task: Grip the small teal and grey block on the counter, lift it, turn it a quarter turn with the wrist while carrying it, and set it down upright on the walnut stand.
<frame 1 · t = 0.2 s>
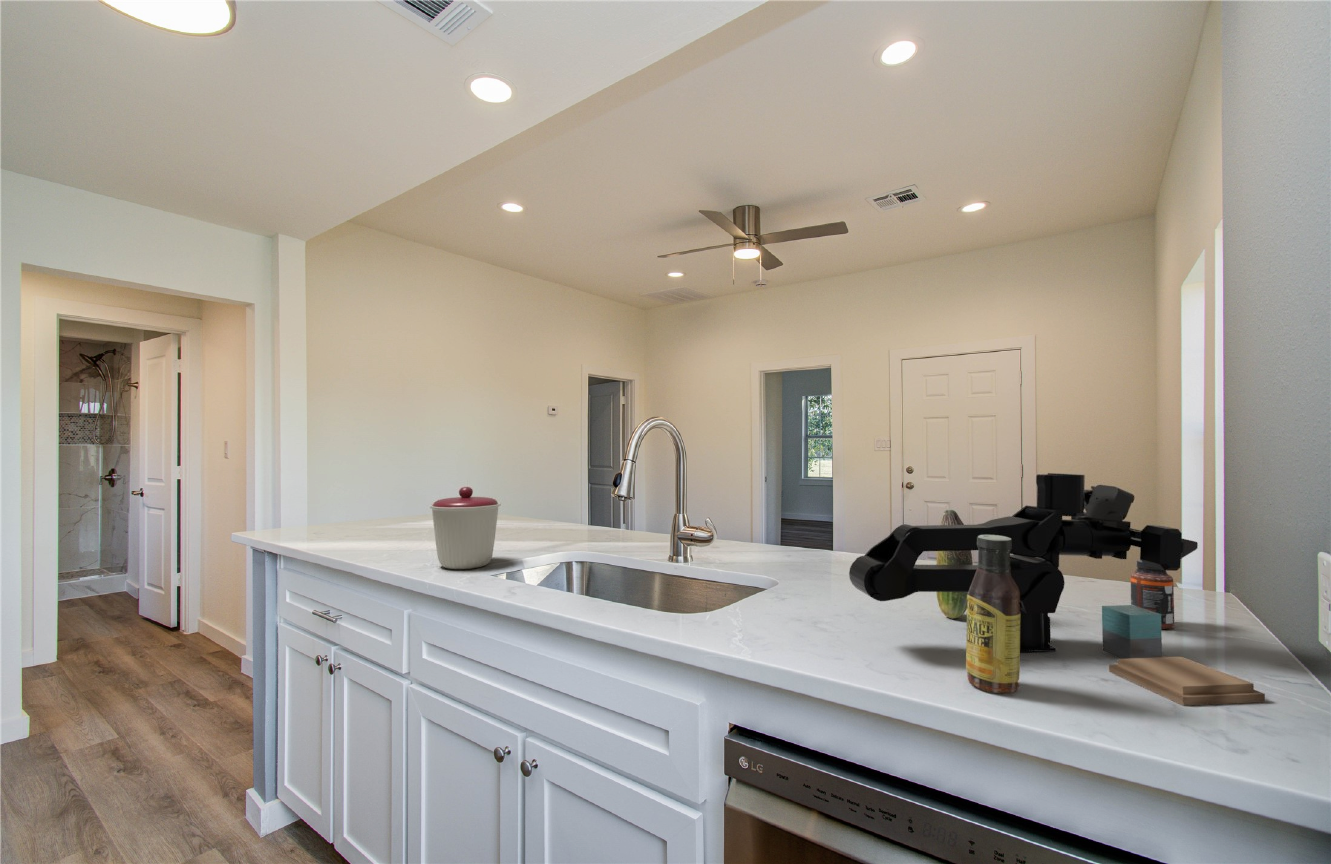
hand: (1169, 539, 98), 16 cm above the worktop, tool horizontal, fingers open, 9 cm apart
canister: (465, 566, 160), on the worktop
teal and grey block: (1131, 656, 90), on the worktop
sauce bottle: (993, 688, 79), on the worktop
vegetable: (954, 618, 111), on the worktop
walnut stand: (1182, 685, 79), on the worktop
supplement bottle: (1152, 626, 106), on the worktop
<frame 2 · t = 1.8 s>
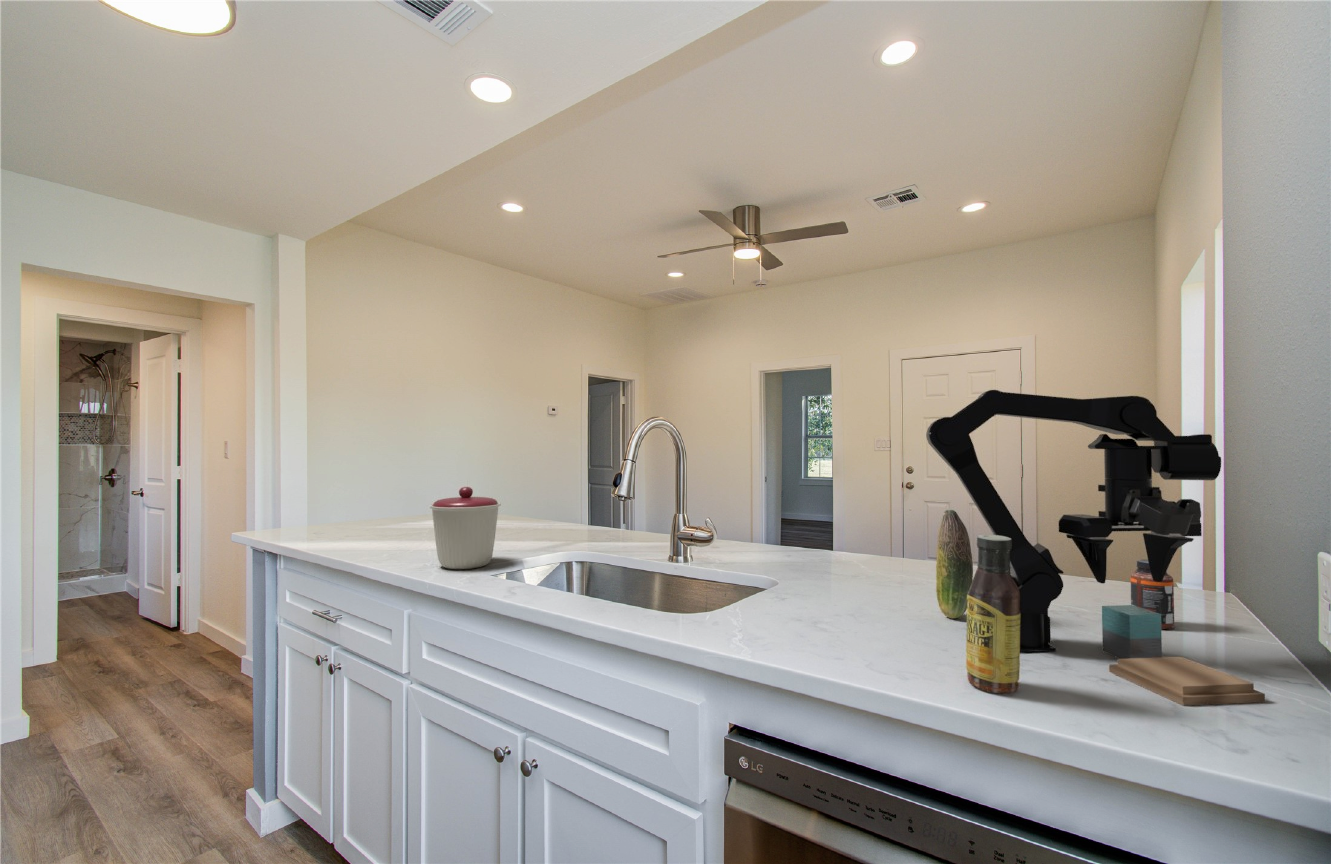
hand: (1129, 582, 91), 11 cm above the worktop, tool pointing down, fingers open, 9 cm apart
nothing on the worktop moved.
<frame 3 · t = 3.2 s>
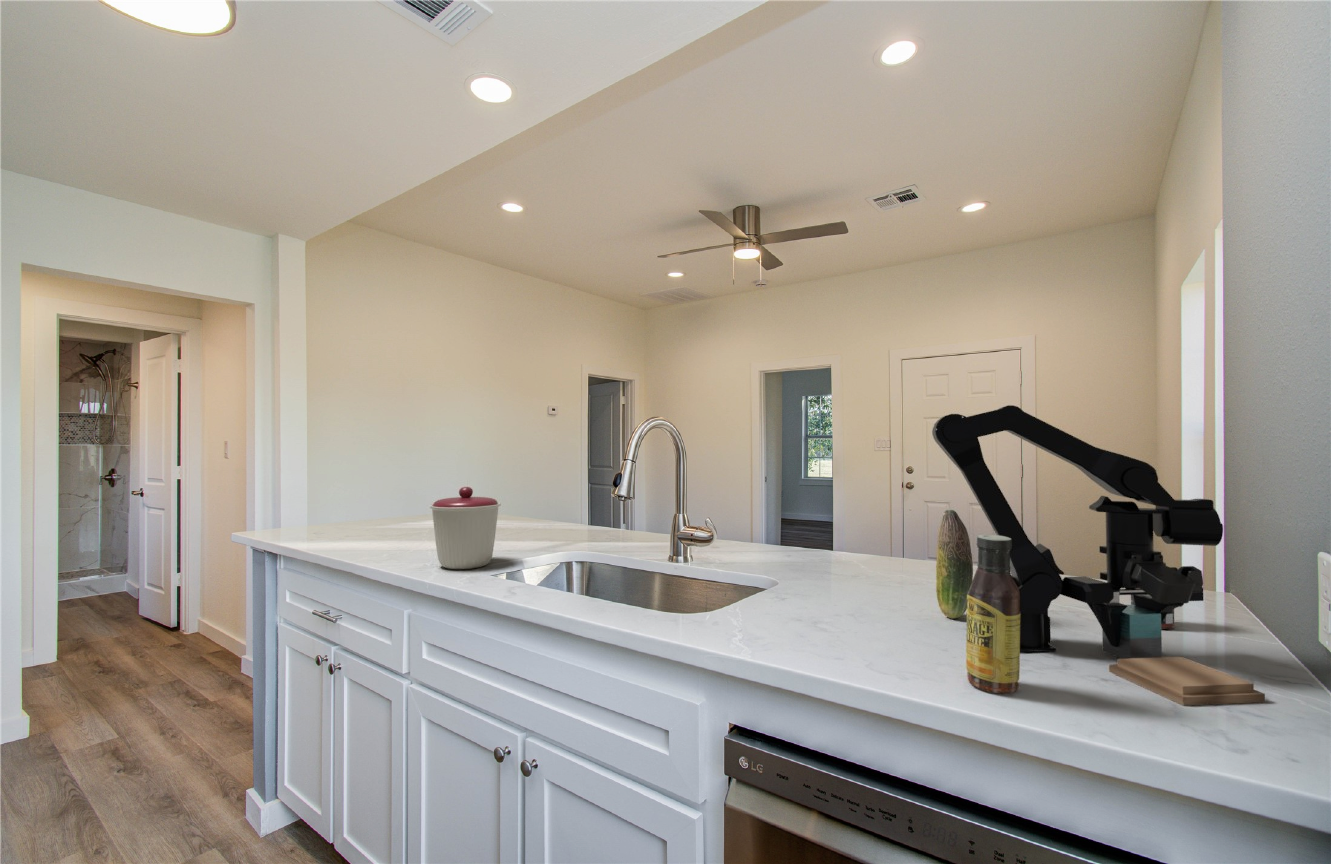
hand: (1131, 645, 90), 2 cm above the worktop, tool pointing down, fingers closed on teal and grey block, 5 cm apart
teal and grey block: (1131, 656, 90), on the worktop, touching gripper
everything else where it was.
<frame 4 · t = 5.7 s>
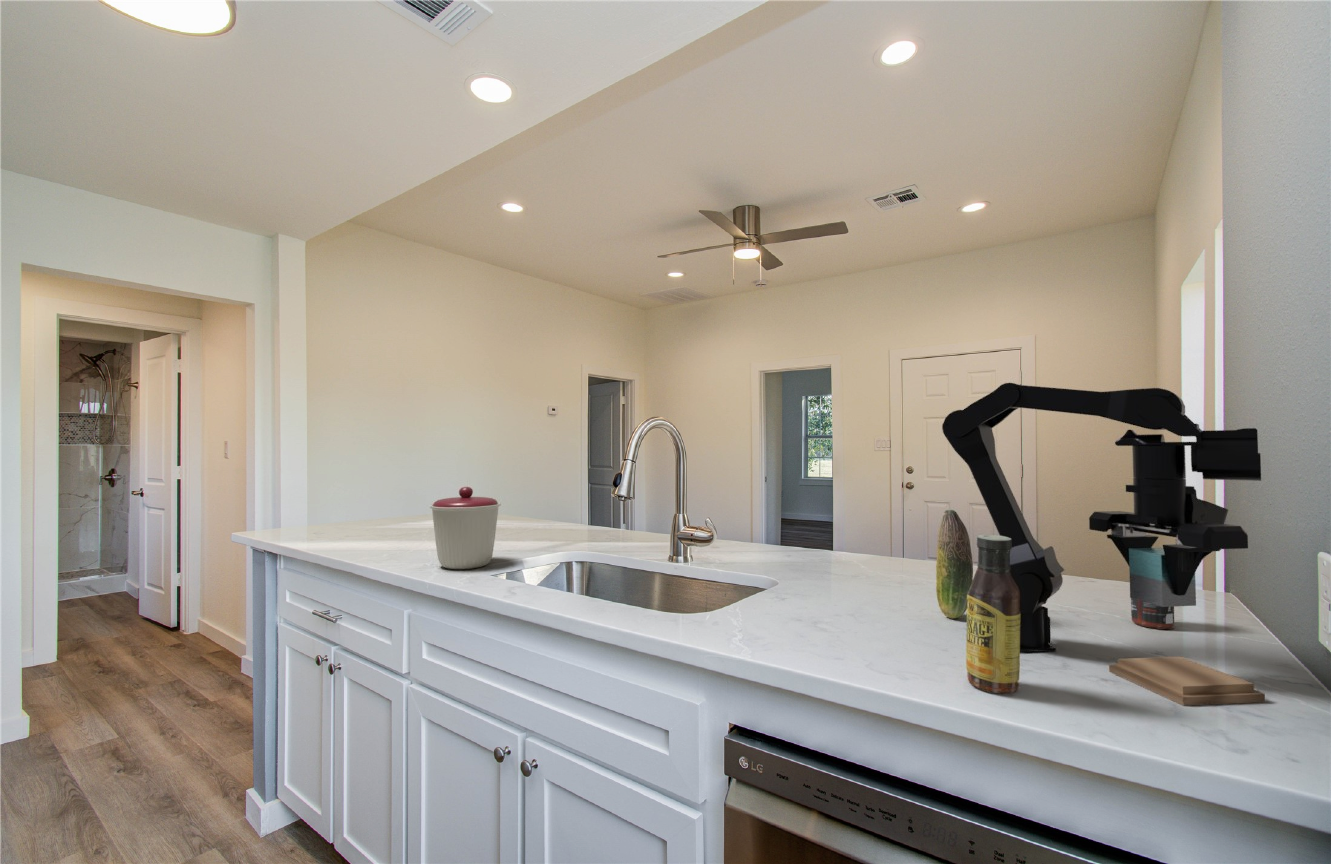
hand: (1161, 590, 83), 12 cm above the worktop, tool pointing down, fingers closed on teal and grey block, 5 cm apart
teal and grey block: (1162, 601, 83), point 10 cm above the worktop, touching gripper
everything else where it was.
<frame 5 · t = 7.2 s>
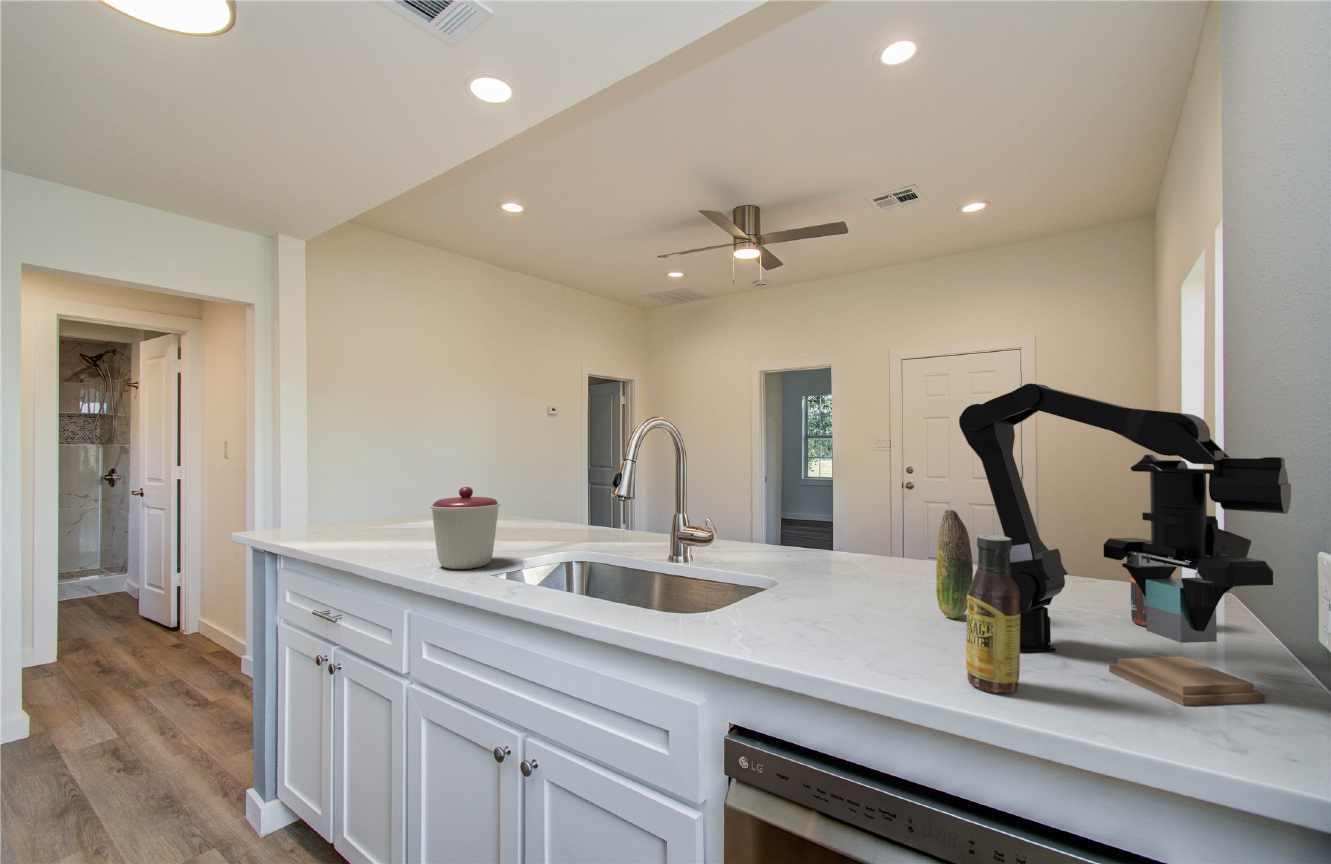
hand: (1180, 624, 79), 8 cm above the worktop, tool pointing down, fingers closed on teal and grey block, 5 cm apart
teal and grey block: (1180, 636, 79), point 7 cm above the worktop, touching gripper
everything else where it was.
when the fingers open (5 cm above the worktop, at t = 8.3 s): teal and grey block drops 1 cm, resting on walnut stand.
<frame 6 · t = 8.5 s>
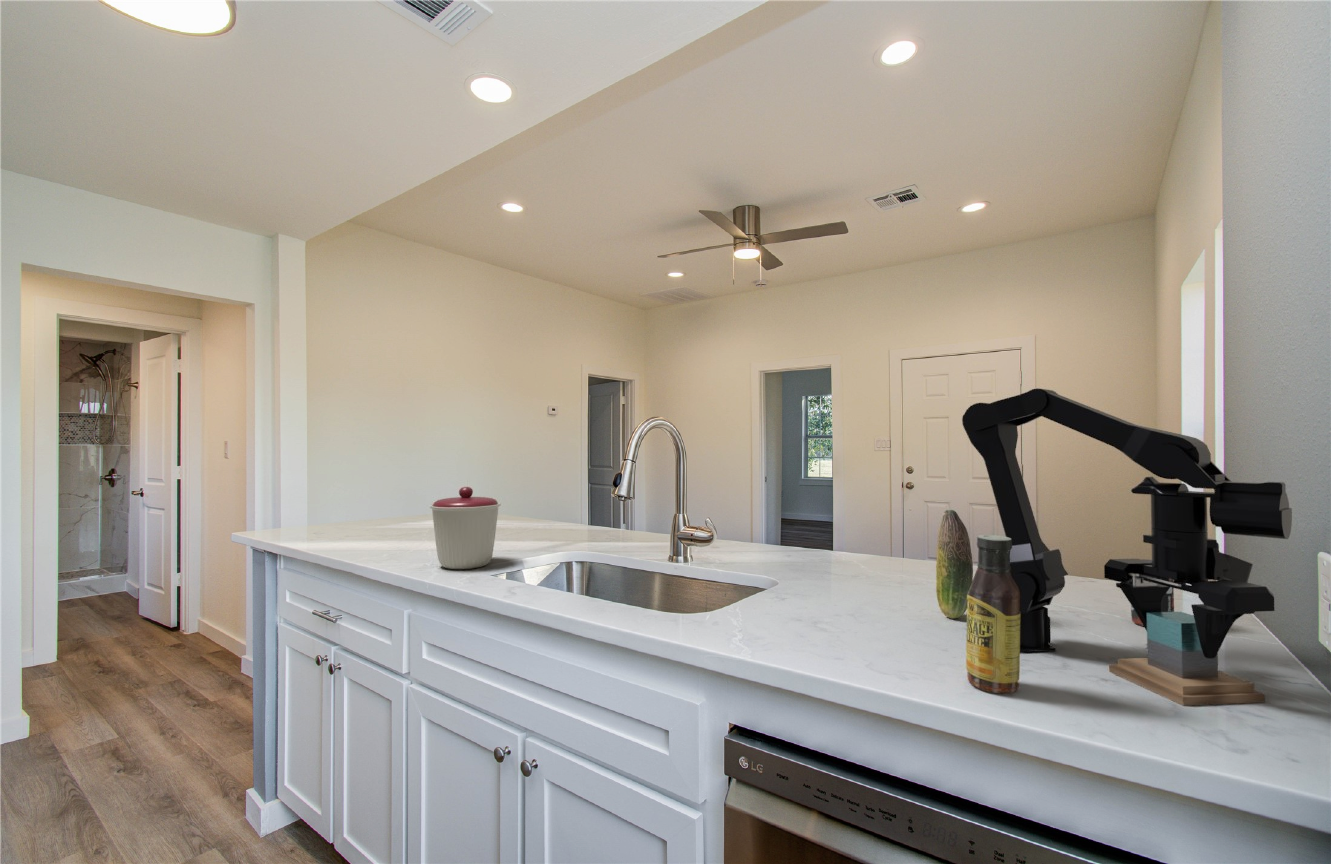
hand: (1181, 647, 79), 5 cm above the worktop, tool pointing down, fingers open, 7 cm apart
teal and grey block: (1181, 670, 79), point 2 cm above the worktop, touching walnut stand
everything else where it was.
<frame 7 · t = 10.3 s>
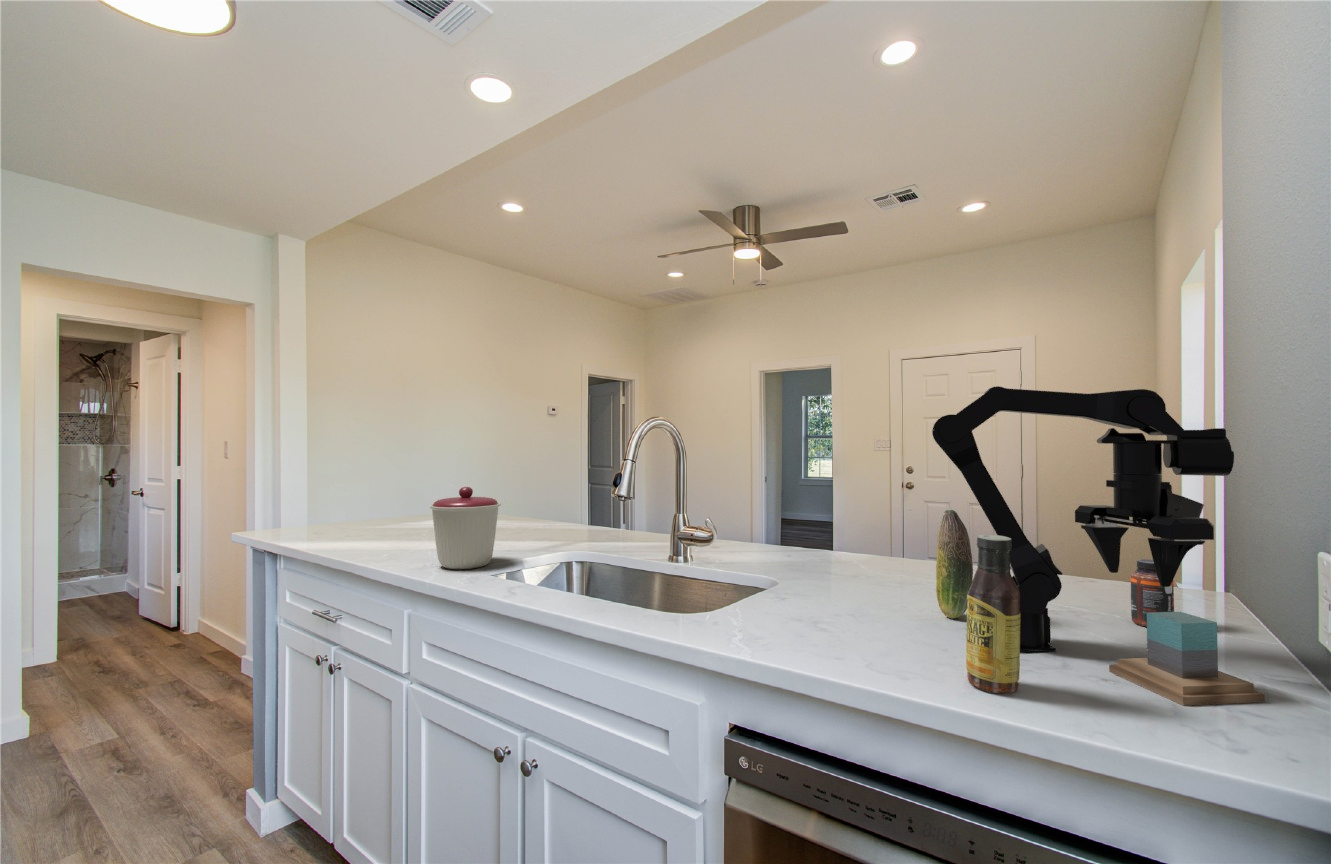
hand: (1138, 579, 89), 12 cm above the worktop, tool pointing down, fingers open, 9 cm apart
nothing on the worktop moved.
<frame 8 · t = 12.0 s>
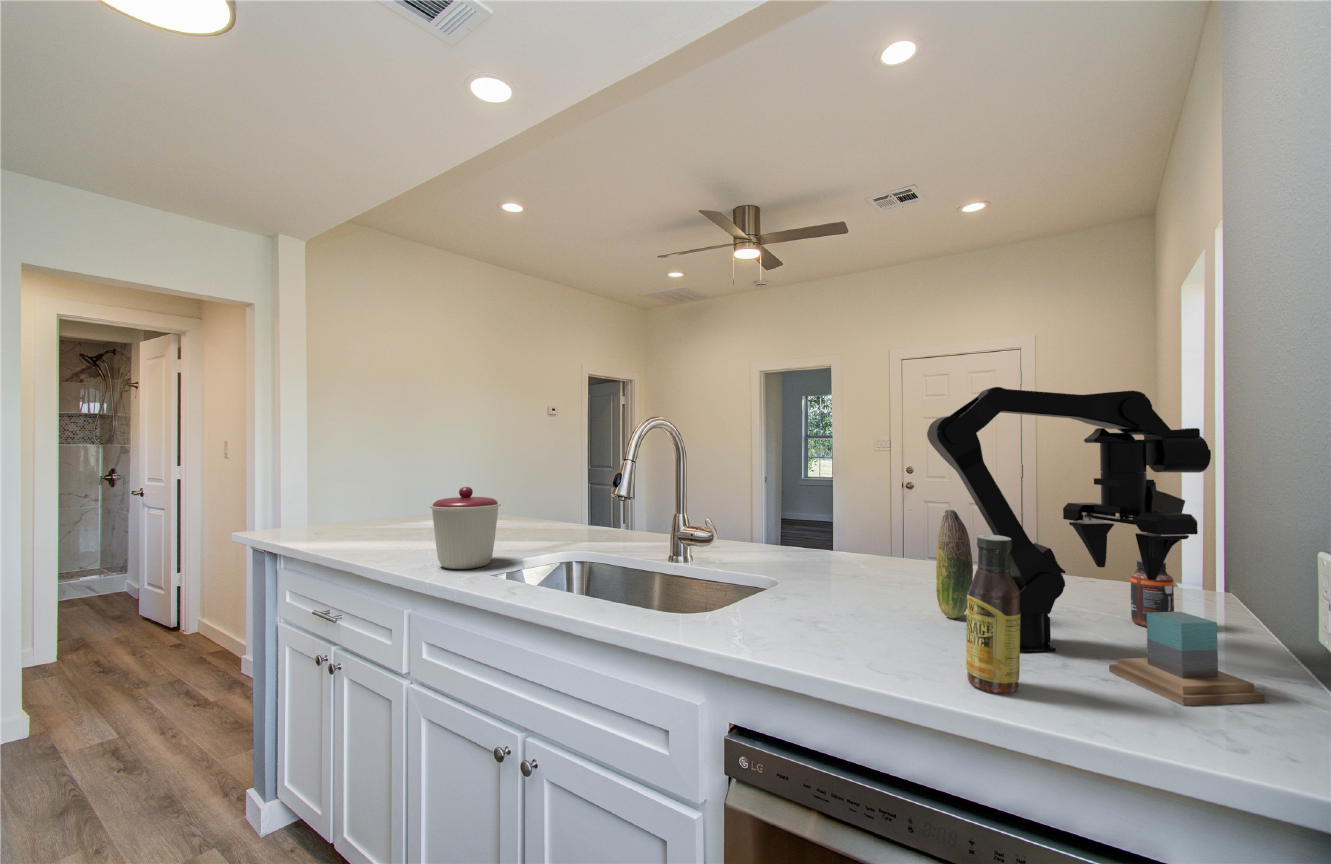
hand: (1125, 573, 93), 12 cm above the worktop, tool pointing down, fingers open, 9 cm apart
nothing on the worktop moved.
at the end: teal and grey block inside the target area on the walnut stand (0.0 cm from its centre), point 2.0 cm above the walnut stand's base; teal and grey block tilted 0°; the gripper is holding nothing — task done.
